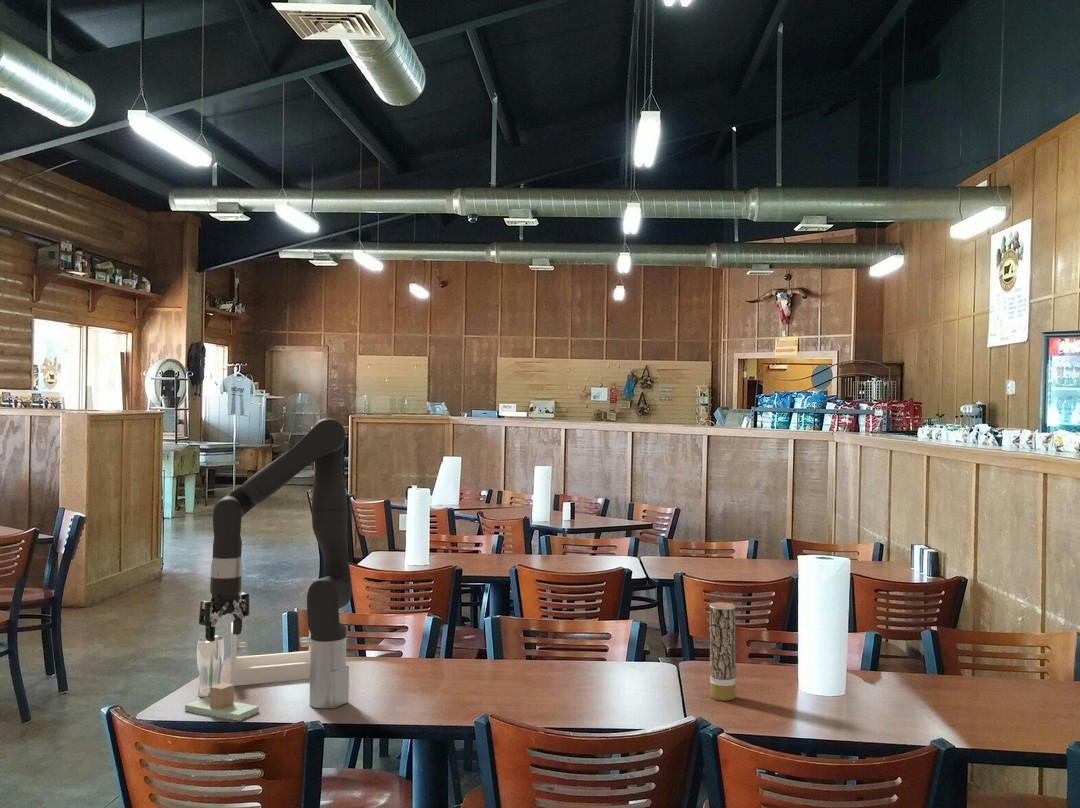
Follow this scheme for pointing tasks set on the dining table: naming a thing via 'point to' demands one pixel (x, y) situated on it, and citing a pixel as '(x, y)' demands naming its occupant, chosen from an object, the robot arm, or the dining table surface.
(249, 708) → the shelf board
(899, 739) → the dining table surface
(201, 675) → the beer glass
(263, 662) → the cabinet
